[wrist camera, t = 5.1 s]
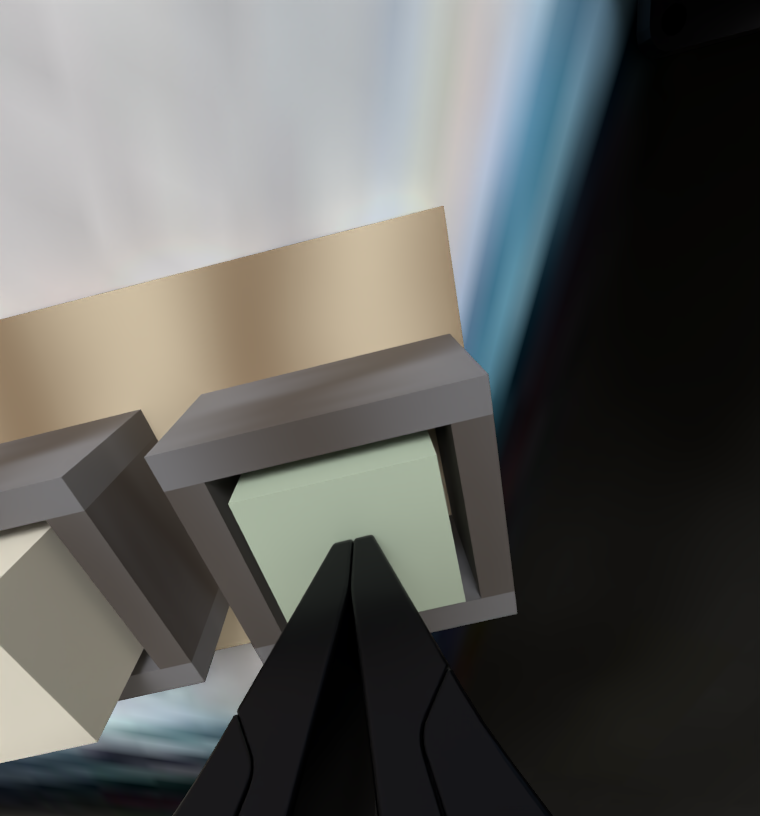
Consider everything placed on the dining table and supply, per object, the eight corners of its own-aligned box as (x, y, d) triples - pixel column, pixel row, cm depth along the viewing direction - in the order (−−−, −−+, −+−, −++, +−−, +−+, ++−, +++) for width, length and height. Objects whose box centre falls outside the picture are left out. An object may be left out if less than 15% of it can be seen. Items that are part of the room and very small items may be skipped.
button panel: (432, 208, 10) (487, 194, 6) (487, 561, 15) (536, 678, 11) (-418, 426, 10) (-866, 542, 7) (-89, 690, 15) (-233, 842, 12)
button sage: (414, 396, 10) (437, 454, 7) (440, 518, 11) (465, 601, 9) (259, 432, 10) (227, 504, 7) (307, 549, 12) (295, 639, 9)
